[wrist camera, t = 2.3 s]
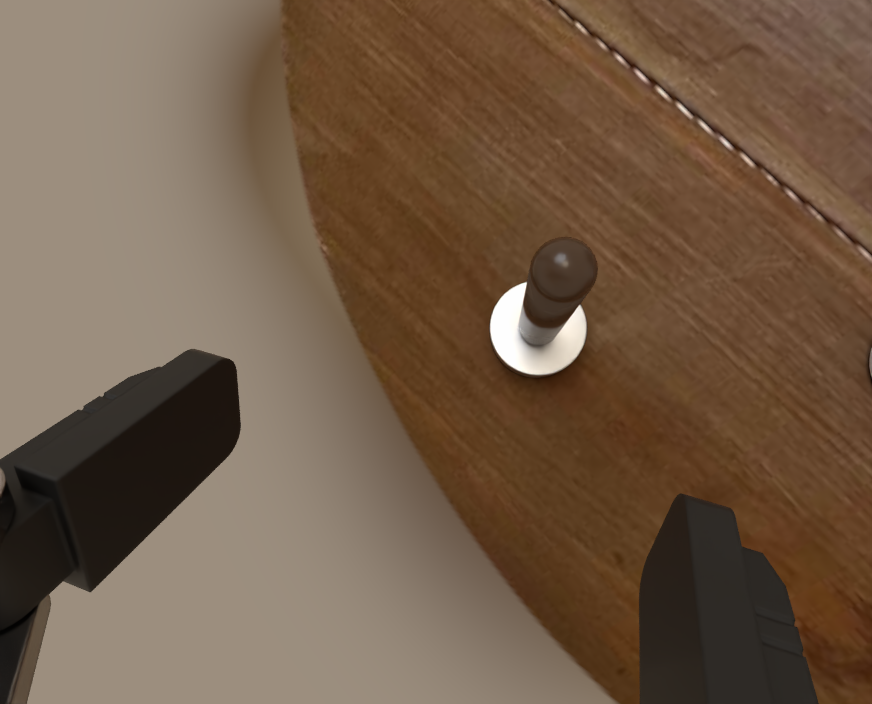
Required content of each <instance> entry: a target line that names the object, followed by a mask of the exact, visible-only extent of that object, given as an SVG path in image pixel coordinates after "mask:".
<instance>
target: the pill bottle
mask: <svg viewBox="0 0 872 704" xmlns="http://www.w3.org/2000/svg"><path fill="white" fill-rule="evenodd" d="M869 367H870V373H871V377H872V349H871V353H870V359H869Z"/></svg>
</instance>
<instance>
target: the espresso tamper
mask: <svg viewBox="0 0 872 704" xmlns="http://www.w3.org/2000/svg"><path fill="white" fill-rule="evenodd" d="M597 271H598V266H597V261H596V258H595V255H594V254H593V252H592V250H591V249H590V248H589V247H588V246H587V245H586V244H585V243H583V242H582V241H580V240H578V239H575V238H571V237H559V238H555V239H552V240H550V241H548V242H546V243H544V244H543V245H542V246H541V247H540V248H539V249H538V250H537V252H536V253H535V255H534V256H533V259H532V261H531V265H530V270H529V275H528V279H527V282H524V283H521V284H519V285H516V286H515V287H513V288H511V289H510V290H508V291H507V292H506V293H505V294H504V295H503V296H502V297H501V298H500V299H499V300H498V302H497V303H496V305H495V307H494V309H493V312H492V314H491V318H490V325H489V331H490V339H491V344H492V347H493V350H494V352H495V354H496V355H497V357H498V359H499V360H500V361H501V362H502V363H503V364H504V365H505V366H506V367H507V368H508V369H510V370H511V371H513V372H515V373H517V374H519V375H522V376H526V377H531V378H542V377H547V376H551V375H554V374H556V373H558V372H560V371H562V370H563V369H565V368H566V367H568V366H569V365H570V364H571V363H572V362H573V361H574V360H575V359H576V358H577V357H578V356H579V354H580V352H581V351H582V349H583V347H584V344H585V341H586V337H587V320H586V316H585V312H584V310H583V308H582V306H581V302H582V301H583V299H584V298H585V297H586V295H587V294H588V293H589V291H590V290H591V289H592V287H593V285H594V283H595V281H596V277H597Z"/></svg>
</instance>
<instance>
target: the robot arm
mask: <svg viewBox="0 0 872 704" xmlns="http://www.w3.org/2000/svg"><path fill="white" fill-rule="evenodd" d="M240 428H241V423H240V410H239V395H238V383H237V370H236V366H235V364H234V362H233V361H232V360H230V359H227V358H224V357H221V356H217V355H214V354H210V353H207V352H204V351H200V350H196V349H190V350H187V351H185V352H184V353H182V354H181V355H179V356H178V357H176V358H175V359H173V360H172V361H170V362H169V363H167V364H166V365H164V366H163V367H157V368H154V369H151V370H148V371H145V372H142V373H140V374H137V375H134V376H131V377H128V378H127V379H125V380H124V381H122V382H121V383H119V384H118V385H116V386H115V387H113V388H111V389H110V390H108V391H107V392H105V393H104V396H103V397H100V396H99V397H97V398H96V399H94V400H93V401H91V402H89V403H88V404H86V405H85V406H84V408H83V410H77V411H75V412H74V413H72V414H71V415H69V416H68V417H66V418H64V419H63V420H61V421H60V422H58V423H57V424H55V425H53V426H52V427H50V428H49V429H47V430H46V431H44V432H43V433H41V434H39V435H38V436H37V437H35V438H33V439H32V440H30V441H28V442H27V443H25V444H24V445H22V446H21V447H19V448H17V449H16V450H14V451H13V452H11V453H10V454H8V455H7V456H5V457H3V458H2V459H0V704H27V700H28V696H29V692H30V688H31V684H32V680H33V676H34V672H35V668H36V664H37V660H38V656H39V652H40V648H41V644H42V640H43V636H44V632H45V628H46V624H47V620H48V616H49V612H50V606H51V601H50V596H49V594H50V593H51V592H52V591H53V590H54V589H55V588H56V587H57V586H58V585H59V584H60V583H62V581H65V582H67V583H69V584H72V585H74V586H76V587H79V588H81V589H84V590H86V591H88V592H91V591H92V590H93V589H94V588H96V586H97V585H99V583H100V582H102V581H103V579H105V578H106V577H107V576H108V575H109V574H110V573H111V572H112V571H113V570H114V569H115V568H116V567H117V566H118V565H119V564H120V563H121V562H122V561H123V560H124V559H125V558H126V557H127V556H128V555H129V554H130V553H131V552H132V551H133V550H134V549H135V548H136V547H137V546H138V545H139V544H140V543H141V542H142V541H143V540H144V539H145V538H146V537H147V536H148V535H149V534H150V533H151V532H152V531H153V530H154V529H155V528H156V527H157V526H158V525H159V524H160V523H161V522H162V521H163V520H164V519H165V518H166V517H167V516H168V515H169V514H170V513H171V512H172V511H173V510H174V509H175V508H176V507H177V506H178V505H179V504H180V503H181V502H182V501H183V500H185V498H187V497H188V496H189V495H190V493H192V491H194V490H195V489H196V488H197V486H198V485H199V484H201V483H202V481H204V480H205V479H206V478H207V477H208V476H209V475H210V474H211V473H212V472H213V471H214V470H215V469H216V468H217V467H218V466H219V465H220V464H221V463H222V462H223V461H224V460H225V459H226V458H227V457H228V456H229V455H230V453H231V452H232V450H233V449H234V447H235V445H236V443H237V440H238V438H239V434H240ZM794 622H795V618H794V614H793V611H792V607H791V604H790V600H789V596H788V593H787V589H786V586H785V585H784V583H783V582H782V580H781V579H780V577H779V576H778V575H777V573H776V572H775V570H774V569H773V567H772V566H771V565H770V563H769V562H768V560H767V559H766V557H765V556H764V554H763V553H760V552H757V551H754V550H751V549H747V548H744V547H742V546H741V541H740V536H739V532H738V527H737V522H736V518H735V514H734V512H733V510H732V509H731V508H729V507H725V506H722V505H718V504H715V503H712V502H708V501H705V500H701V499H698V498H695V497H691V496H688V495H684V494H679V495H677V497H676V498H675V499H674V501H673V503H672V505H671V507H670V510H669V512H668V514H667V516H666V518H665V520H664V522H663V525H662V527H661V529H660V531H659V533H658V535H657V537H656V540H655V542H654V544H653V546H652V548H651V550H650V552H649V555H648V557H647V559H646V562H645V565H644V569H643V573H642V578H641V583H640V593H639V630H640V704H818V700H817V696H816V693H815V689H814V686H813V682H812V679H811V675H810V671H809V668H808V664H807V661H806V657H803V656H802V652H803V646H802V643H801V639H800V636H799V632H798V629H797V627H794Z"/></svg>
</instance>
